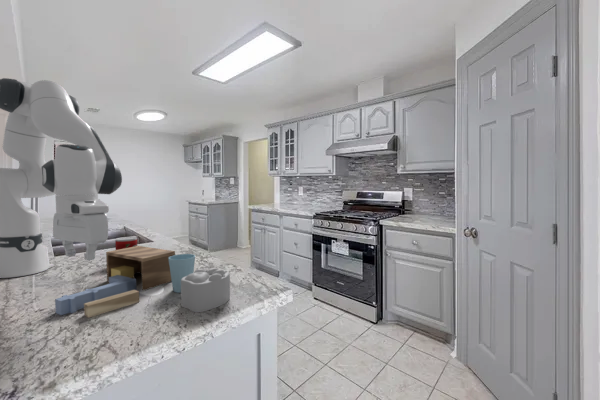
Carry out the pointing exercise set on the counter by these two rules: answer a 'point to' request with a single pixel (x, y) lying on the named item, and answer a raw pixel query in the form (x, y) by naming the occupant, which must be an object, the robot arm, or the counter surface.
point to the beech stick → (110, 303)
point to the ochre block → (123, 271)
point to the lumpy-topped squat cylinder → (205, 289)
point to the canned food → (125, 242)
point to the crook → (94, 294)
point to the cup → (180, 269)
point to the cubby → (143, 264)
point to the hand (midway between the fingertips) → (80, 258)
